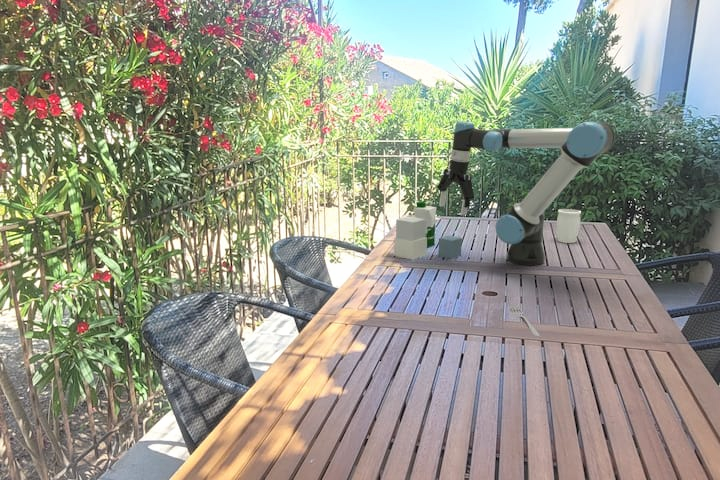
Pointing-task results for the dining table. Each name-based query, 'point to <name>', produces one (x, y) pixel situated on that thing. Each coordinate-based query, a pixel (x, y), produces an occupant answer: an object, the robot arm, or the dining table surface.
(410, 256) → the tower base
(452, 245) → the slate block
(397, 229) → the tower top
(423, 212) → the milk carton
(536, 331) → the fork
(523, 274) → the dining table surface
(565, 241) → the jar
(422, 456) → the dining table surface
